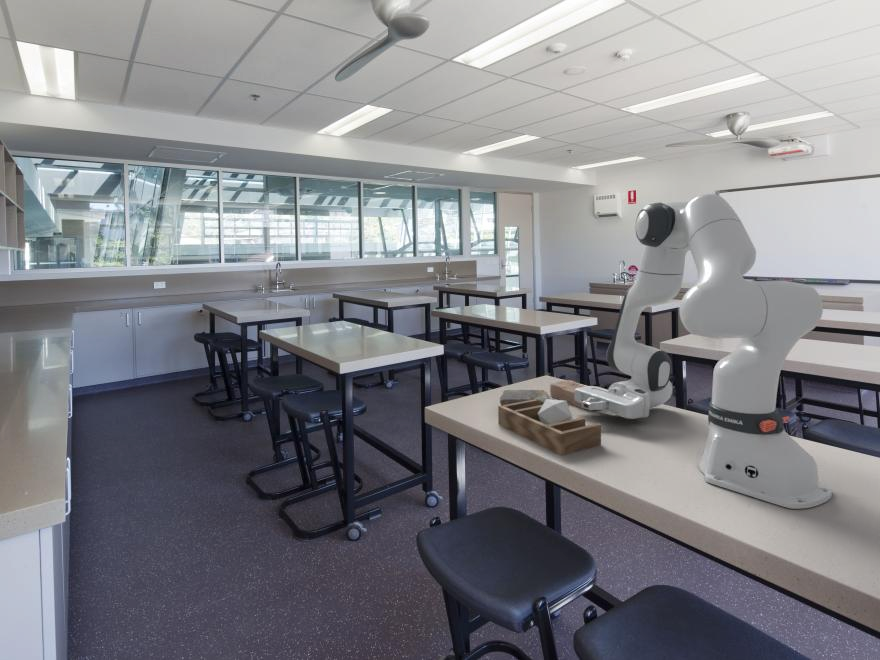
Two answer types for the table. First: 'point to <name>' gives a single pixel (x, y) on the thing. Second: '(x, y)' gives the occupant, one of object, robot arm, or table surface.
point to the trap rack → (548, 428)
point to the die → (554, 412)
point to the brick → (565, 391)
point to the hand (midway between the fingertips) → (585, 405)
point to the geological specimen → (523, 396)
